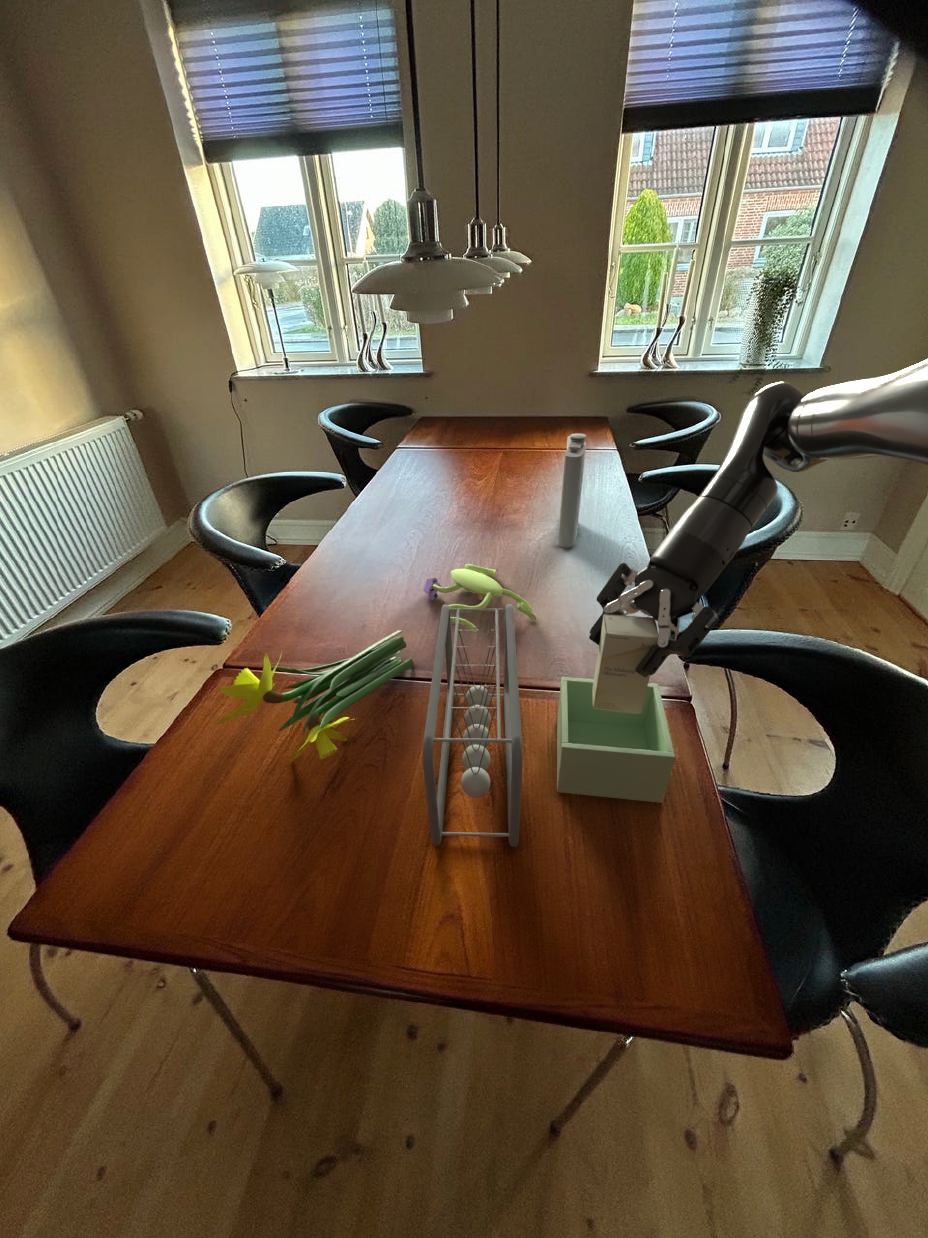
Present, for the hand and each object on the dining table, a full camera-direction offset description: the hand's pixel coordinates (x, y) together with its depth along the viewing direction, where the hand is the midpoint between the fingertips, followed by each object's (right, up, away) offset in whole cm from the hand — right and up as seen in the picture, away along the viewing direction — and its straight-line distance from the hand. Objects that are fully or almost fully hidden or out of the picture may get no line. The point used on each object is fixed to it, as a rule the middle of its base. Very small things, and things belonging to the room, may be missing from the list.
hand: (616, 657), depth 64 cm
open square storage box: (+2, -15, +11) cm, 19 cm away
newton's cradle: (-17, -16, +12) cm, 26 cm away
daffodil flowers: (-38, -10, +21) cm, 45 cm away
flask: (+9, +27, +74) cm, 79 cm away
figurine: (-16, +7, +45) cm, 49 cm away
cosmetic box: (+2, -6, +5) cm, 8 cm away
